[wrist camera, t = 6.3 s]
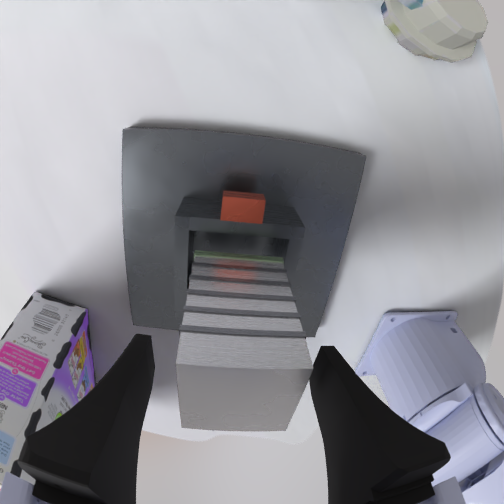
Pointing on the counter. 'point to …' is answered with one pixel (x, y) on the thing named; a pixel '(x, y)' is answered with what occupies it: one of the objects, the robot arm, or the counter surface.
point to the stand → (231, 213)
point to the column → (240, 345)
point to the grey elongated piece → (436, 26)
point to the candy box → (41, 372)
